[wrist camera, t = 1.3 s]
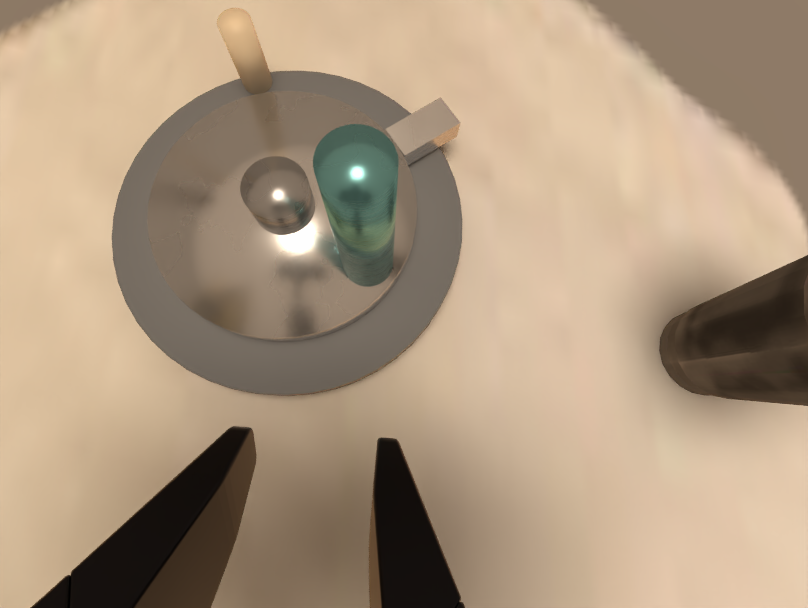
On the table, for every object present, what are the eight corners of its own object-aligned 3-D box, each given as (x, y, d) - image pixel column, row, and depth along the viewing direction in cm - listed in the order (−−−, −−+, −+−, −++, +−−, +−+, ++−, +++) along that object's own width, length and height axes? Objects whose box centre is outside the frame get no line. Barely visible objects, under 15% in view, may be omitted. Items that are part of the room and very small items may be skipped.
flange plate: (394, 376, 21) (403, 349, 11) (118, 303, 22) (-110, 215, 12) (461, 118, 25) (513, -78, 15) (221, 57, 25) (112, -175, 15)
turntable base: (413, 435, 22) (423, 444, 17) (73, 345, 23) (-23, 326, 17) (487, 131, 27) (513, 61, 21) (197, 57, 27) (151, -29, 21)
